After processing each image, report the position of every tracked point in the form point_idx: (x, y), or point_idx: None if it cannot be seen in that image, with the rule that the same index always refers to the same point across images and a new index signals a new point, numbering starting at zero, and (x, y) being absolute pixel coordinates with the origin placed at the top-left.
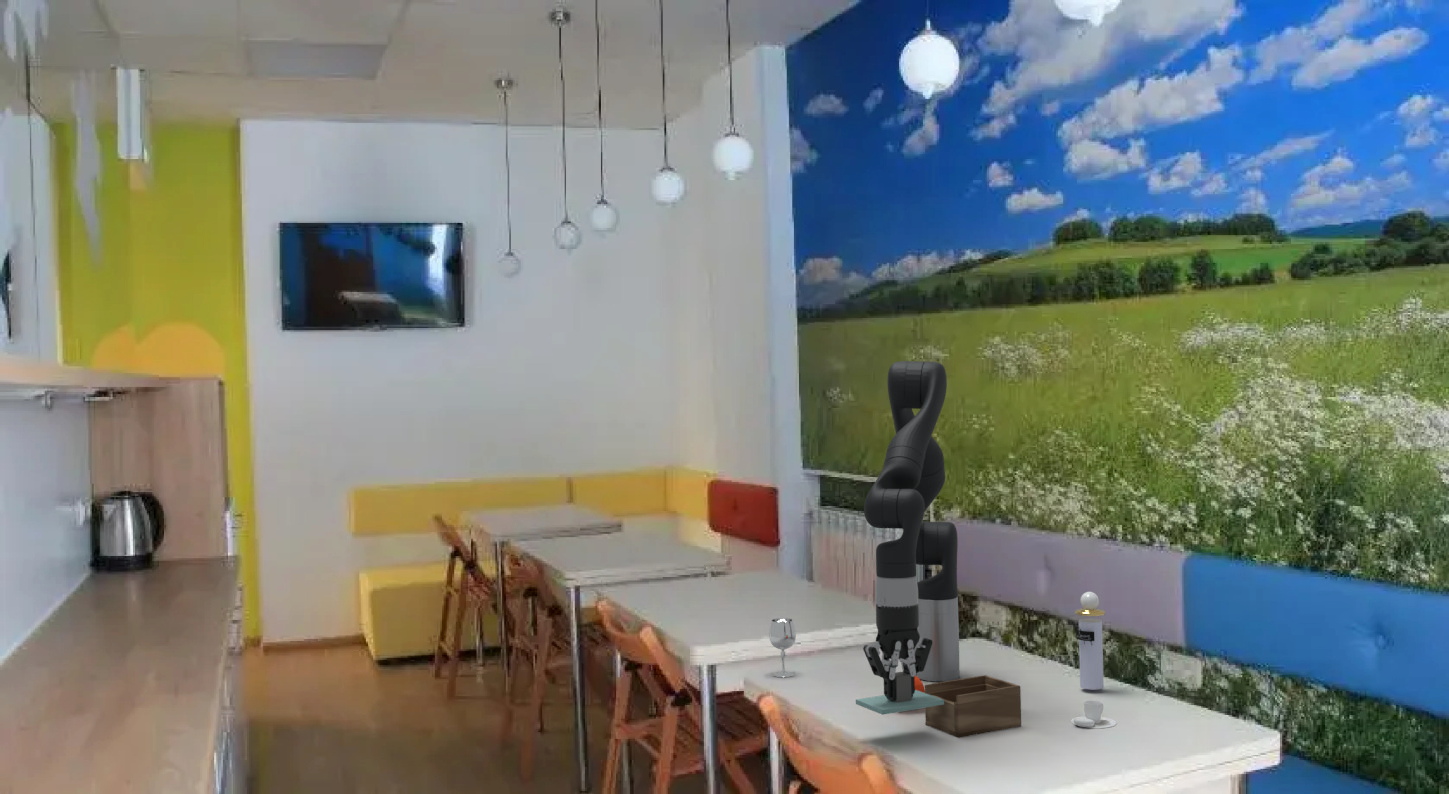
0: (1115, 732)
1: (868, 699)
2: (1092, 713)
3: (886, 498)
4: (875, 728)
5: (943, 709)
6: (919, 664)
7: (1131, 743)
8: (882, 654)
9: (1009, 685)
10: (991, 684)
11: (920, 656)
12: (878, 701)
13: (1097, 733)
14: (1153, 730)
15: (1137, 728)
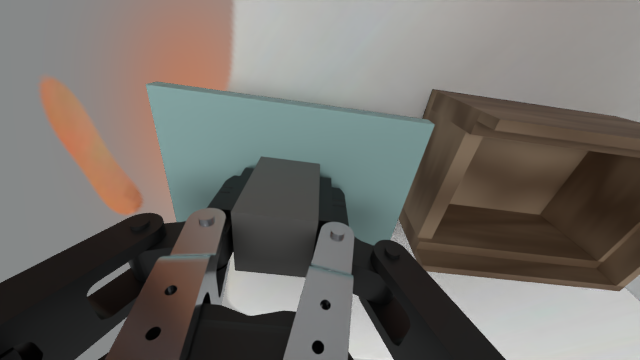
0: (568, 302)
1: (194, 117)
2: (626, 288)
3: None
4: (310, 17)
5: (425, 187)
6: (368, 314)
7: (519, 329)
8: (133, 309)
9: (633, 263)
10: None
11: (397, 351)
12: (215, 159)
13: (550, 294)
14: (602, 319)
15: (606, 307)
